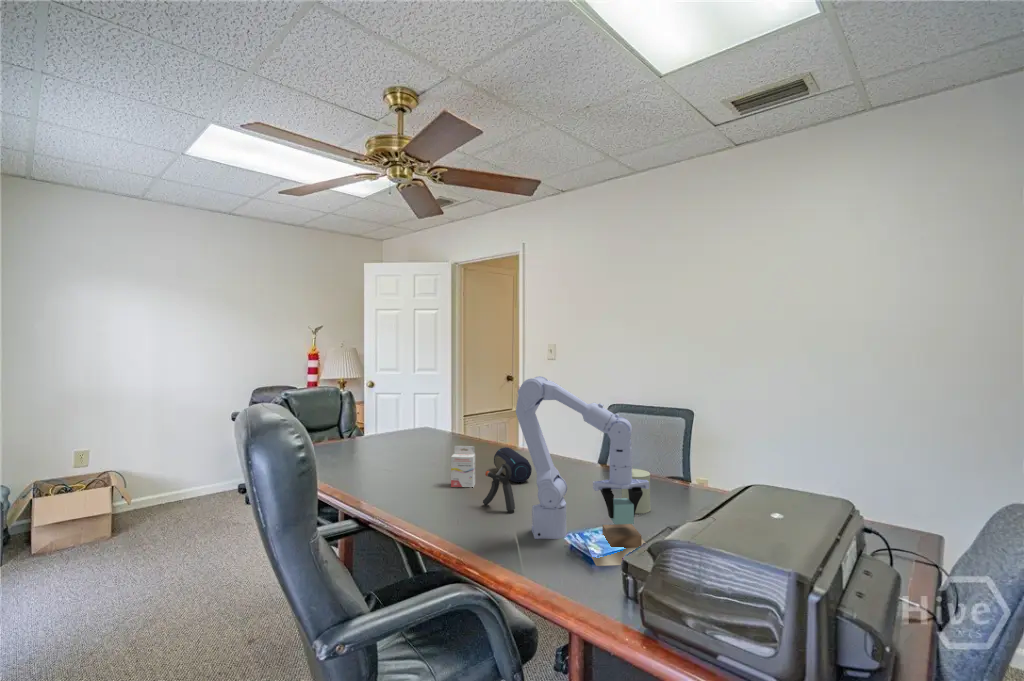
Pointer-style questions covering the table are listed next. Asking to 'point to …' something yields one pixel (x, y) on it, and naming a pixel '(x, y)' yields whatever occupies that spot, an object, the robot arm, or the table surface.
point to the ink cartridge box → (463, 467)
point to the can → (645, 499)
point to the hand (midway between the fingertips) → (621, 516)
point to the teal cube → (623, 511)
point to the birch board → (613, 557)
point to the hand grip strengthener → (506, 487)
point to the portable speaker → (513, 464)
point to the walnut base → (622, 535)
